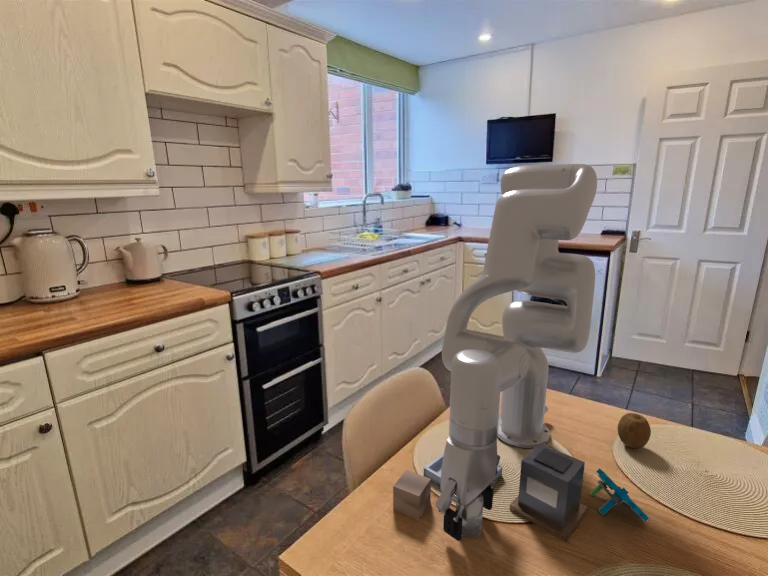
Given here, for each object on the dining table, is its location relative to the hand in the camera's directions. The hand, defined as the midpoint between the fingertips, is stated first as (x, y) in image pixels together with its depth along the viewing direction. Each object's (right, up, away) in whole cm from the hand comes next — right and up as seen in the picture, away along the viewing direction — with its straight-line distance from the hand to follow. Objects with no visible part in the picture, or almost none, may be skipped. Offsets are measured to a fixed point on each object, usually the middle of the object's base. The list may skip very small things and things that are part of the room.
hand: (468, 519), depth 70 cm
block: (-9, -1, +5) cm, 11 cm away
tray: (+1, +2, +13) cm, 13 cm away
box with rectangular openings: (+15, -1, +4) cm, 15 cm away
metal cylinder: (0, -2, 0) cm, 2 cm away
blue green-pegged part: (+27, -1, +4) cm, 27 cm away
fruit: (+40, +4, +22) cm, 46 cm away
